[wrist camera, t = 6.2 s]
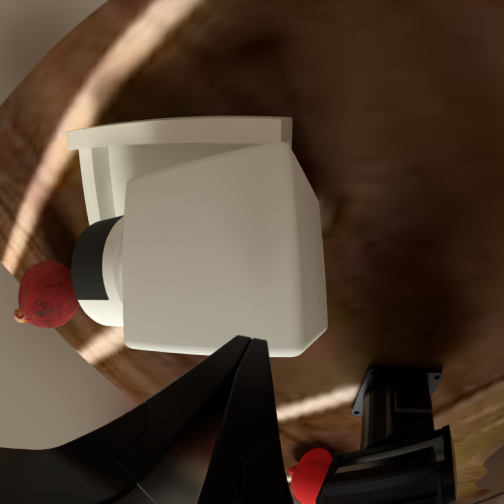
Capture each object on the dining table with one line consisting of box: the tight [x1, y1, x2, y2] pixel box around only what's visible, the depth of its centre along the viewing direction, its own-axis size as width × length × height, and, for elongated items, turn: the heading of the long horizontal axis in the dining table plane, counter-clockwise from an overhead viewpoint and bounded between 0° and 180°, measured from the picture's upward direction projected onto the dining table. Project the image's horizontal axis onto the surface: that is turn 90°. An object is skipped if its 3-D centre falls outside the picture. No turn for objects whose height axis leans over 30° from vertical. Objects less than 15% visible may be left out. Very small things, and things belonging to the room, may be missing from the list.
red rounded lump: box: [14, 261, 80, 328], centre depth 23 cm, size 6×6×8 cm
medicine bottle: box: [71, 141, 328, 357], centre depth 15 cm, size 7×7×12 cm
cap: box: [288, 448, 332, 504], centre depth 27 cm, size 8×6×6 cm
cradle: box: [67, 116, 293, 225], centre depth 18 cm, size 11×13×4 cm
